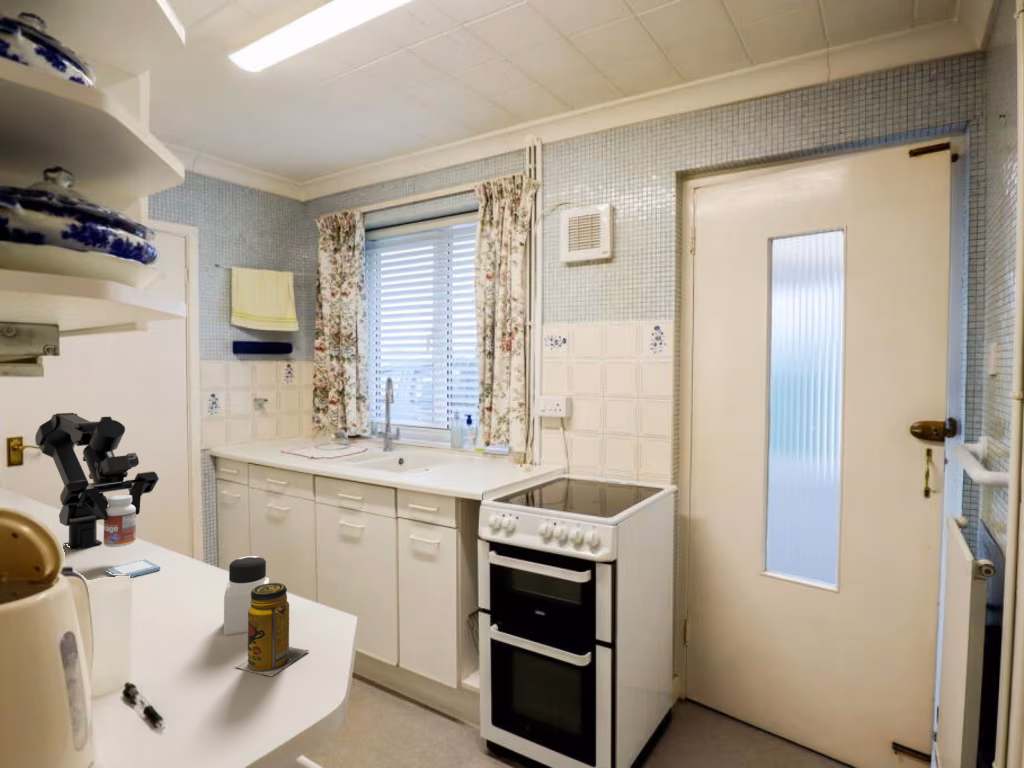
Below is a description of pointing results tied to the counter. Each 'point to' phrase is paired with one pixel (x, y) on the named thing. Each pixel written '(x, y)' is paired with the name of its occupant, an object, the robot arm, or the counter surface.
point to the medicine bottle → (242, 592)
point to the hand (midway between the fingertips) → (122, 516)
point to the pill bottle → (120, 521)
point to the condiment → (269, 631)
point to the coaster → (134, 568)
